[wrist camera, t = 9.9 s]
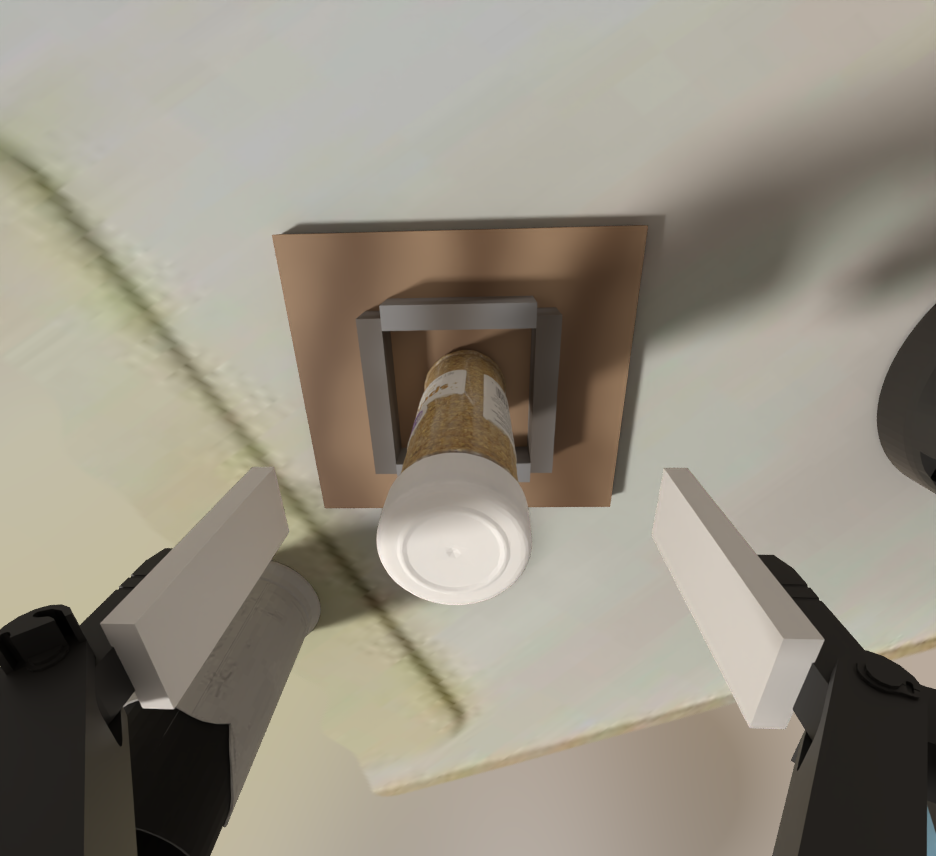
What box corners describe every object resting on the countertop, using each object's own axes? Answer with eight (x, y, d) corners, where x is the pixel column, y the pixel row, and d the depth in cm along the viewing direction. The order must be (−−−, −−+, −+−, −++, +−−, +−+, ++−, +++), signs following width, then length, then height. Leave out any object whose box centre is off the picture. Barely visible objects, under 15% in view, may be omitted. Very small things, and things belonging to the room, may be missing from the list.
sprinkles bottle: (425, 345, 24) (369, 479, 12) (511, 350, 24) (544, 490, 12) (424, 423, 26) (375, 608, 14) (503, 428, 26) (524, 616, 14)
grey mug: (300, 656, 36) (193, 921, 23) (119, 595, 34) (-124, 851, 20) (336, 584, 33) (234, 845, 19) (137, 510, 30) (-142, 749, 17)
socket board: (641, 225, 22) (663, 226, 19) (606, 497, 29) (618, 526, 26) (280, 234, 23) (252, 236, 20) (329, 499, 29) (314, 527, 27)
